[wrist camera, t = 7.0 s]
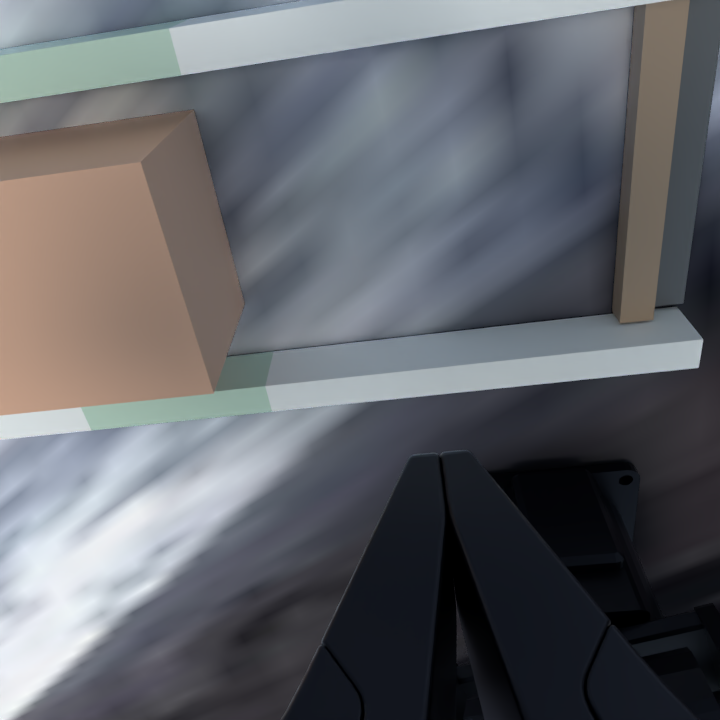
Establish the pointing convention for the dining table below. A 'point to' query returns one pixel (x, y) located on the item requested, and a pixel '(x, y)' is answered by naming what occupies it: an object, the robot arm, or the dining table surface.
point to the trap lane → (448, 349)
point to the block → (112, 266)
